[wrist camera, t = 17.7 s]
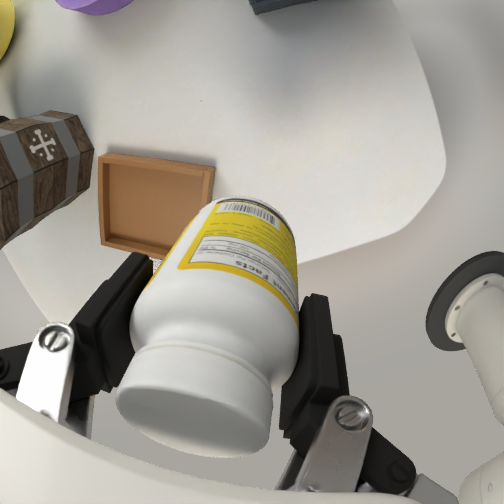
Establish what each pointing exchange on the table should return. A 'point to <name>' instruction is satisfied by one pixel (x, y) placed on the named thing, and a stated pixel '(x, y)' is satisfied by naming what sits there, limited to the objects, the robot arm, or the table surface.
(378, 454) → the robot arm
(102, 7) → the tape roll
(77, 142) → the mug
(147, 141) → the table surface
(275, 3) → the slate tray
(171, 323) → the supplement bottle
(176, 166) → the oak tray
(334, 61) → the table surface
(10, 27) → the vase
